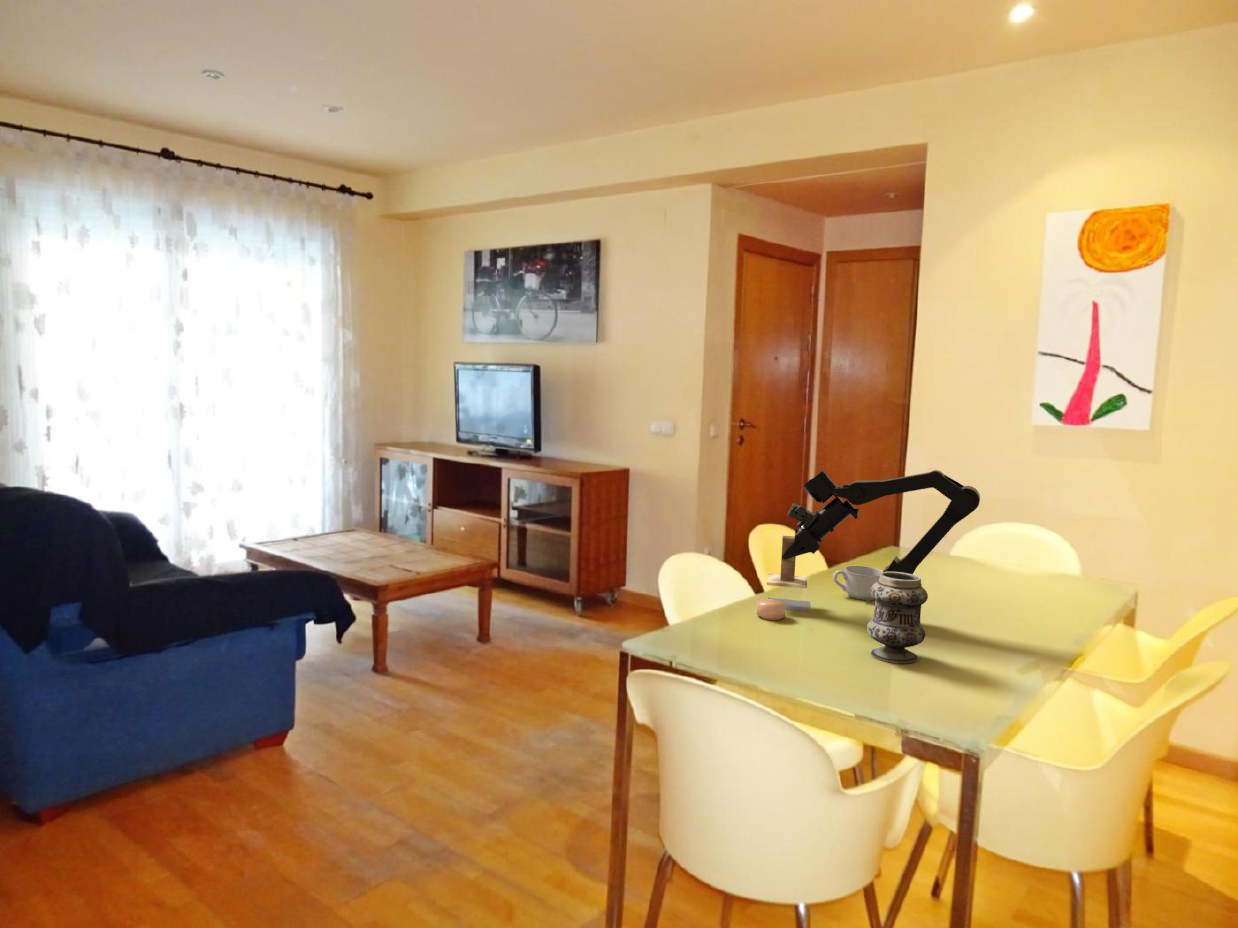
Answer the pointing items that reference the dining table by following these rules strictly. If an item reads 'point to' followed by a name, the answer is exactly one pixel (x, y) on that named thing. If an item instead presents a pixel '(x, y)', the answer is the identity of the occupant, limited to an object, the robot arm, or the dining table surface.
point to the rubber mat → (796, 605)
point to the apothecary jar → (897, 616)
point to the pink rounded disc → (771, 609)
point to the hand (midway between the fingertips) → (783, 556)
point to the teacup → (858, 581)
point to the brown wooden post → (787, 570)
